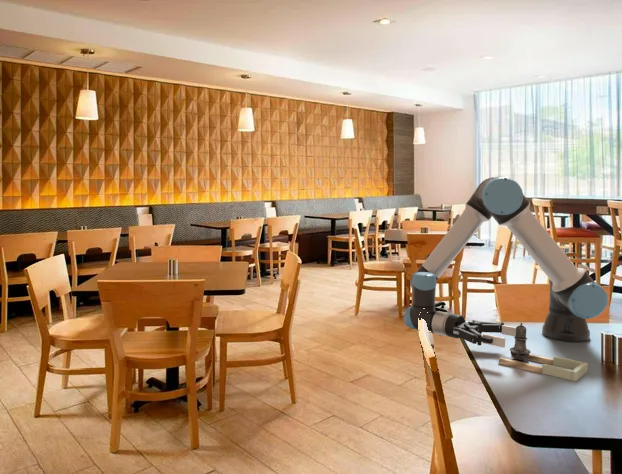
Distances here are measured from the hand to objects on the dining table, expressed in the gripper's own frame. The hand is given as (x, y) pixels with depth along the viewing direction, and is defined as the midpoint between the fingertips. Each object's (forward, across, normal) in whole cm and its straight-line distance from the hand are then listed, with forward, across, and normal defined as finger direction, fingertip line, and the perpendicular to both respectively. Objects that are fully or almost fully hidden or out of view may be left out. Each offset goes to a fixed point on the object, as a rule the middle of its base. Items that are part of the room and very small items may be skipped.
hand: (514, 338), depth 163 cm
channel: (+4, -1, -7) cm, 8 cm away
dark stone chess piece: (+2, 0, -7) cm, 8 cm away
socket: (+14, 0, -7) cm, 16 cm away
